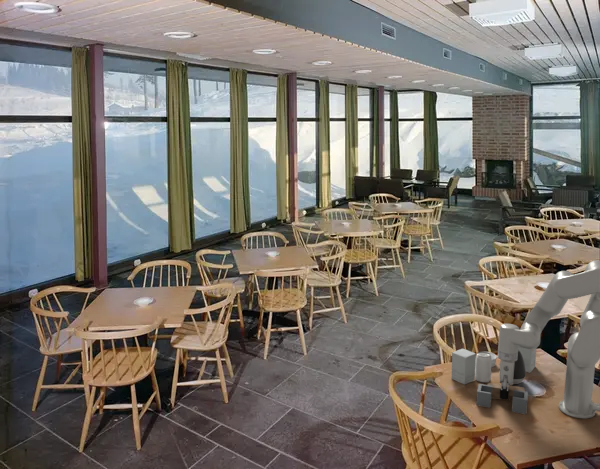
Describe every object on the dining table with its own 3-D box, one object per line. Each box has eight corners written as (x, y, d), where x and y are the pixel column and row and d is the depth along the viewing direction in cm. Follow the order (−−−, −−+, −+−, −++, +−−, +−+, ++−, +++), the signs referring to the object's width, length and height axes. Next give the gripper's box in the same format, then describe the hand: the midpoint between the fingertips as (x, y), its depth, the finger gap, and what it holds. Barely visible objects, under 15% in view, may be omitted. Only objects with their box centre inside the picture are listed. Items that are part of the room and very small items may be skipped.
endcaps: (526, 405, 209) (527, 391, 208) (526, 414, 203) (527, 400, 202) (478, 397, 216) (478, 383, 215) (476, 405, 210) (477, 391, 209)
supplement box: (475, 380, 231) (476, 353, 228) (464, 385, 227) (465, 357, 224) (461, 374, 237) (462, 347, 234) (450, 378, 233) (451, 352, 230)
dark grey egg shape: (495, 381, 229) (497, 348, 226) (507, 373, 236) (509, 342, 233) (517, 389, 222) (520, 356, 219) (529, 381, 228) (531, 348, 225)
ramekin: (500, 366, 243) (500, 357, 242) (483, 369, 241) (484, 360, 240) (488, 358, 252) (488, 350, 251) (472, 361, 249) (472, 352, 248)
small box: (521, 363, 246) (523, 337, 244) (535, 366, 242) (537, 340, 240) (515, 369, 240) (517, 342, 237) (530, 373, 236) (532, 346, 233)
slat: (523, 398, 215) (524, 387, 214) (523, 402, 212) (524, 391, 211) (487, 393, 219) (487, 382, 218) (487, 397, 216) (487, 386, 215)
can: (491, 383, 227) (493, 357, 225) (475, 382, 229) (477, 356, 226) (489, 376, 234) (490, 351, 231) (474, 375, 235) (475, 350, 232)
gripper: (516, 364, 202) (513, 405, 206) (518, 347, 218) (515, 385, 221) (496, 361, 205) (493, 401, 209) (499, 344, 221) (496, 382, 224)
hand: (504, 393), depth 215 cm, fingers open, 9 cm apart
